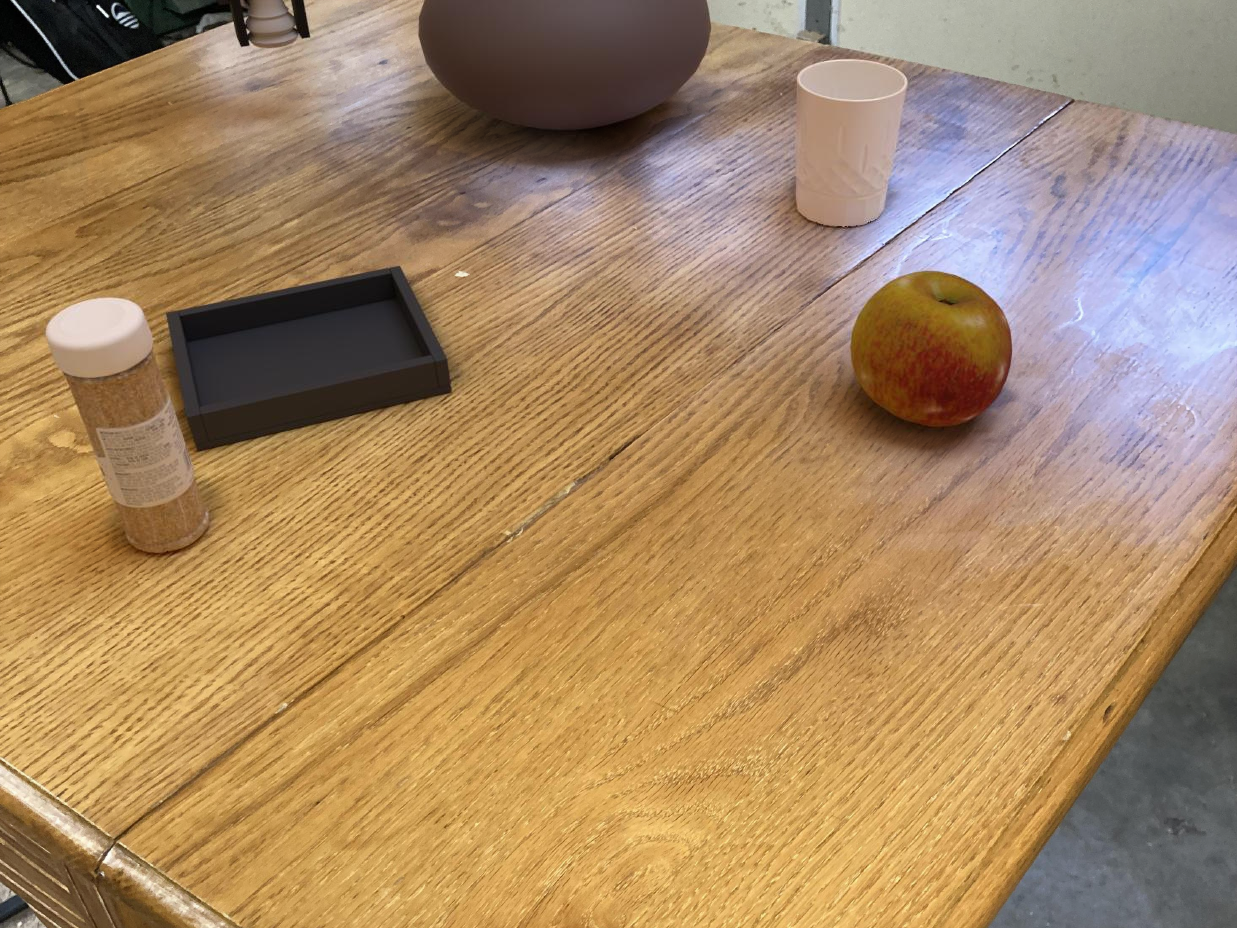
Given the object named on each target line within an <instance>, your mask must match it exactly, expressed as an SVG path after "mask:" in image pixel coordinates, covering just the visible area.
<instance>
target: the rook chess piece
mask: <svg viewBox="0 0 1237 928" xmlns="http://www.w3.org/2000/svg"><path fill="white" fill-rule="evenodd" d="M247 15H248V16H247V18H246V19H245V25H246V30H247V31H248V32H247V35H248V39H249V43H251V44H252V45H253V46H254V47H257V48H262V49H277V48H282V47H287V46H289V45H292V44H294V42H296V41H297V39H298V37H299V36H300V35H299V31H298V30H297V29H296V19H295V17H294V14H292V13H291V12H290V9H289V7H288V6H287V5H286V3H285V1H284V0H249V9H247Z"/></svg>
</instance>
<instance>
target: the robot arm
mask: <svg viewBox="0 0 1237 928" xmlns="http://www.w3.org/2000/svg"><path fill="white" fill-rule="evenodd" d="M215 2H217V4H218V6H223V5H229V8H230V13H231V17H232V23H233V26H234V32H235V37H236V39H237V41H238V44H239V46H240V48H244V47H250V46H251V45H250V41H249V39H248V35H247V34H248V29H246V25H245V22H246V20H245V17H244V12H243V7H242V3H241V0H215ZM290 2H291V8H292V13H293V14H292V15H293V16H294V17H295V19H296V25H295V28H296V29H297V30H298V31H299V35H298V36H300V38H301V39H302V40H303V39H310V38H311V34H310V27H309V23H308V16H307V11H306V7H305V5H306V4H305V0H290Z"/></svg>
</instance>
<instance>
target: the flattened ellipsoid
mask: <svg viewBox="0 0 1237 928" xmlns="http://www.w3.org/2000/svg"><path fill="white" fill-rule="evenodd" d="M711 32H712V23H711V15H710V9H709V5H708V0H423V3H422V6H421V9H420V12H419V16H418V31H417V33H418V41H419V44H420V47H421V50H422V54H423V57H424V60H425V64H426V65H427V66H428V68H429V69H430V71H431V72H432V73H433V75H434V76H435V78H436V79H437V80H438V82H439V83H440V84H441V85H442V86H443V88H445V89H446V90H447V91H448V92H449V93H451V94H452V95H453V96H454V97H456V98H457V100H460V102H462V103H464V104H465V105H467V106H468V107H470V108H472V109H474V110H476V111H478V112H480V113H482V114H484V115H486V116H488V117H491V118H494V119H496V120H499V121H501V122H505V123H509V124H512V125H513V124H514V125H518V126H522V127H527V128H533V129H541V130H554V131H576V130H585V129H586V130H587V129H593V128H599V127H604V126H608V125H611V124H615V123H616V124H617V123H619V122H623V121H625V120H629V119H632V118H635V117H637V116H641V115H642V114H645V113H647V112H649V111H650V110H652V109H653V108H655V107H657V106H658V105H660V104H661V103H664V102H665V101H666V100H668V99H670V98H671V97H673V96H674V95H675V94H677V93H678V91H679V90H681V89H682V87H683V86H684V85H685V84H686V83H687V82H688V81H689V80H690V79H691V78H692V77H693V75H695V73H696V72H697V70H698V69H699V67H700V65H701V63H702V61H703V59H704V58H705V56H706V53H707V50H708V47H709V42H710V39H711V38H710V37H711Z"/></svg>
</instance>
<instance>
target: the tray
mask: <svg viewBox="0 0 1237 928" xmlns="http://www.w3.org/2000/svg"><path fill="white" fill-rule="evenodd" d="M419 302H420V301H418V298H417V297H416V295H415V292H414V290H413V288H412V286H411V284H410V282H409V280H408V278H407V277H406V275H405V273H404V271H403V269H402V266H401V265H396V266H391V267H390V266H389V267H385V268H380V269H375V270H370V271H365V272H361V273H355V274H350V275H346V276H340V277H336V278H335V277H334V278H331V279H326V280H321V281H315V282H311V283H310V282H309V283H306V284H300V285H296V286H291V287H287V288H281V289H276V290H271V291H266V292H261V293H257V294H252V295H251V294H250V295H247V296H241V297H237V298H233V299H232V298H231V299H226V300H222V301H217V302H212V303H208V304H203V305H198V306H193V307H187V308H182V309H178V310H173V311H167V312H165V316H166V321H167V326H168V331H169V336H170V342H171V346H172V352H173V357H174V362H175V367H176V371H177V376H178V382H179V388H180V392H181V397H182V401H183V407H184V412H185V417H186V420H187V424H188V426H189V430H190V433H191V436H192V440H193V442H194V444H195V448H196V451H197V452H199V451H205V450H207V449H212V448H216V447H221V446H225V445H229V444H230V445H231V444H234V443H237V442H242V441H247V440H250V439H256V438H259V437H264V436H269V435H273V434H276V433H281V432H285V431H290V430H293V429H294V430H295V429H298V428H303V427H306V426H311V425H315V424H319V423H324V422H327V421H332V420H336V419H340V418H345V417H349V416H353V415H358V414H362V413H366V412H367V413H368V412H371V411H376V410H380V409H384V408H388V407H392V406H393V407H394V406H397V405H401V404H405V403H409V402H413V401H418V400H422V399H427V398H430V397H431V398H432V397H435V396H440V395H443V394H449V393H452V391H453V389H452V384H451V383H452V382H451V375H450V370H449V362H448V361H449V360H448V358H447V356H446V353H445V352H444V349H443V347H442V346H441V344H440V342H439V340H438V338H437V336H436V334H435V332H434V330H433V328H432V326H431V324H430V322H429V320H428V318H427V316H426V314H425V312H424V310H423V308H422V306H421V304H420V303H419Z"/></svg>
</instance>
